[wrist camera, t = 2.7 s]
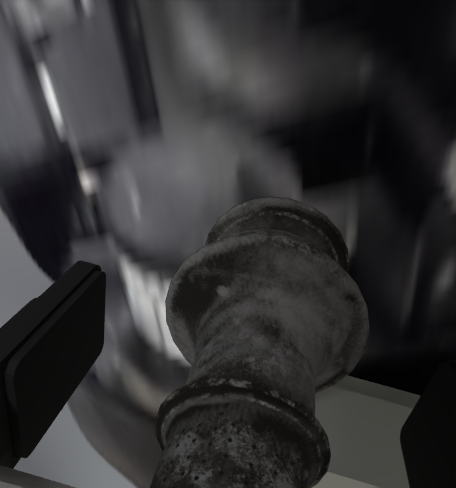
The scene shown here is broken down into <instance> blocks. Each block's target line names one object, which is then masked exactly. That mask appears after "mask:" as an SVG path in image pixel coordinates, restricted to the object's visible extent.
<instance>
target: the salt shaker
mask: <svg viewBox="0 0 456 488" xmlns="http://www.w3.org/2000/svg"><path fill="white" fill-rule="evenodd" d="M349 269H350V267H349V258H348V249H347V247H346V244H345V242H344V240H343V238H342V235H341V233H340V231H339V230H338V229H337V228H336V227H335V226H334V224H333V223H332V222H331V221H330V220H329V219H328V217H326V216H325V215H323V214H322V213H320V212H319V211H317V210H316V209H315V208H313V207H312V206H310V205H307V204H304V203H301V202H298V201H296V200H293V199H287V198H277V197H266V198H259V199H252V200H249V201H247V202H244V203H242V204H240V205H237V206H235V207H233V208H232V209H230V210H229V211H228V212H227V213H225V214H224V215H223V216H222V217H220V218H219V220H218V221H217V222H216V224H215V225H214V227H213V228H212V230H211V231H210V233H209V235H208V238H207V241H206V245H205V246H203V247H202V248H200V249H199V250H198V251H196V252H195V253H194V254H193V255H191V256H190V257H189V258H188V259H186V260H185V261H184V262H183V264H182V265H181V267H180V268H179V270H178V271H177V273H176V274H175V275H174V277H173V278H172V280H171V282H170V286H169V290H168V293H167V297H166V301H165V303H166V322H167V324H168V327H169V330H170V333H171V336H172V338H173V341H174V343H175V344H176V346H177V347H178V348H179V350H180V351H181V353H182V354H183V356H184V357H185V359H186V360H187V361H188V362H189V363H190V364H191V365H192V367H191V369H190V372H189V375H188V377H187V380H186V382H185V385H184V386H183V387H181V388H179V389H177V390H176V391H174V392H172V393H171V394H170V395H169V396H168V397H167V398H166V400H165V401H164V402H163V403H162V404H161V406H160V408H159V411H158V414H157V417H156V420H155V428H156V437H157V439H158V442H159V444H160V446H161V448H162V451H163V454H162V456H161V459H160V462H159V464H158V467H157V470H156V472H155V475H154V478H153V480H152V483H151V486H150V488H312V487H314V486H315V485H317V484H318V483H319V482H320V480H321V479H322V478H323V476H324V475H325V474H326V473H327V471H328V467H329V463H330V459H331V451H330V445H329V440H328V436H327V434H326V432H325V431H324V429H323V427H322V426H321V424H320V422H319V420H318V419H317V418H316V417H315V394H317V393H319V392H321V391H323V390H325V389H328V388H330V387H332V386H334V385H336V384H337V383H338V382H339V381H341V380H342V379H343V378H344V377H345V376H347V375H348V374H349V373H350V372H352V371H353V369H354V368H355V366H356V365H357V363H358V362H359V360H360V359H361V357H362V356H363V354H364V352H365V348H366V344H367V340H368V336H369V332H370V330H369V320H368V309H367V305H366V303H365V301H364V299H363V296H362V294H361V292H360V290H359V288H358V285H357V283H356V282H355V281H354V280H353V279H352V278H351V277H350V275H349V274H348V273H349Z"/></svg>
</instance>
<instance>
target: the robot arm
mask: <svg viewBox="0 0 456 488" xmlns="http://www.w3.org/2000/svg"><path fill="white" fill-rule="evenodd" d="M105 290H106V274H105V272H102V271H101V268H100V266H99V265H96V264H92V263H88V262H84V261H78V262H76V263H75V264H74V265H73V266H72V267H71V268H70V269H69V270H68V271H67V272H65V273H64V274H63V275H62V276H61V277H60V278H59V279H58V280H57V281H56V282H55V283H53V284H52V285H51V286H50V287H49V288H48V289H47V290H46V291H45V292H44V293H43V294H42V295H40V296H39V297H38V298H34V299H33V300H31V301H30V302H29V303H28V304H27V305H25V306H24V307H23V308H22V309H21V310H20V311H19V312H18V313H17V314H15V315H14V316H13V317H12V318H11V319H10V320H9V321H8V322H7V323H6V324H4V325H3V326H2V327H1V328H0V488H75V487H71V486H69V485H65V484H62V483H59V482H55V481H51V480H48V479H45V478H42V477H38V476H35V475H32V474H28V473H25V472H21V471H18V470H15V469H13V468H14V467H15V465H16V464H17V463H18V461H19V460H20V458H21V457H22V458H27V457H28V456H29V455H30V454H31V453H32V451H33V450H34V449H35V447H36V446H37V444H38V443H39V441H40V440H41V439H42V437H43V435H44V434H45V433H46V431H47V430H48V428H49V427H50V426H51V424H52V423H53V421H54V420H55V418H56V417H57V415H58V414H59V412H60V411H61V410H62V408H63V407H64V405H65V404H66V402H67V401H68V400H69V398H70V397H71V395H72V394H73V392H74V391H75V390H76V388H77V387H78V385H79V384H80V382H81V381H82V379H83V378H84V377H85V375H86V374H87V372H88V371H89V369H90V368H91V366H92V365H93V364H94V362H95V361H96V359H97V358H98V356H99V355H100V353H101V351H102V348H103V345H104V322H105ZM400 444H401V449H402V453H403V458H404V463H405V468H406V472H407V477H408V482H409V487H410V488H456V360H449V361H448V362H447V363H441V364H440V365H439V366H438V368H437V370H436V371H435V373H434V375H433V376H432V378H431V380H430V381H429V383H428V385H427V386H426V388H425V390H424V391H423V393H422V395H421V396H420V398H419V400H418V401H417V403H416V405H415V406H414V408H413V410H412V411H411V413H410V415H409V416H408V418H407V420H406V421H405V423H404V425H403V426H402V429H401V432H400Z"/></svg>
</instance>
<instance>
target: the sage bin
mask: <svg viewBox="0 0 456 488" xmlns="http://www.w3.org/2000/svg"><path fill="white" fill-rule="evenodd" d="M419 398H420V395H417V394H413V393H409V392H406V391H402V390H399V389H395V388H391V387H388V386H384V385H380V384H377V383H373V382H370V381H366V380H362V379H359V378H355V377H352V376H348V375H347V376H345V377H344V378H343V379H342V380H341V381H339V382H338V383H337V384H336V385H334V386H332V387H330V388H328V389H325V390H323V391H321V392H319V393H317V394H315V417H316V418H317V419H318V420H319V422H320V424H321V426H322V427H323V429H324V431H325V432H326V434H327V436H328V440H329V445H330V451H331V459H330V463H329V467H328V471H327V473H326V474H325V475H324V476H323V478H322V479H321V480H320V482H319V483H318V484H317V485H315V486H314V487H312V488H410V487H409V482H408V477H407V472H406V468H405V463H404V458H403V453H402V449H401V444H400V432H401V429H402V426H403V425H404V423H405V421H406V420H407V418H408V416H409V415H410V413H411V411H412V410H413V408H414V406H415V405H416V403H417V401H418V400H419Z"/></svg>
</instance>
